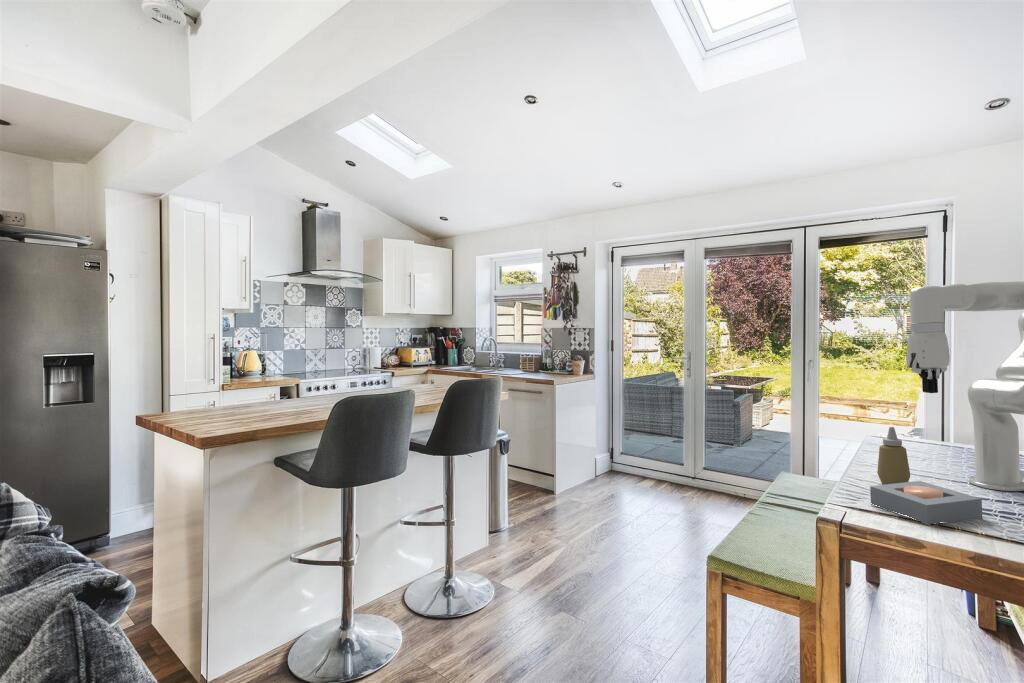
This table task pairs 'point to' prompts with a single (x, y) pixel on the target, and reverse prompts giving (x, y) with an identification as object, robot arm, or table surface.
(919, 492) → the button
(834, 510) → the table surface
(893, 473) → the squeeze bottle
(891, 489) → the button base
